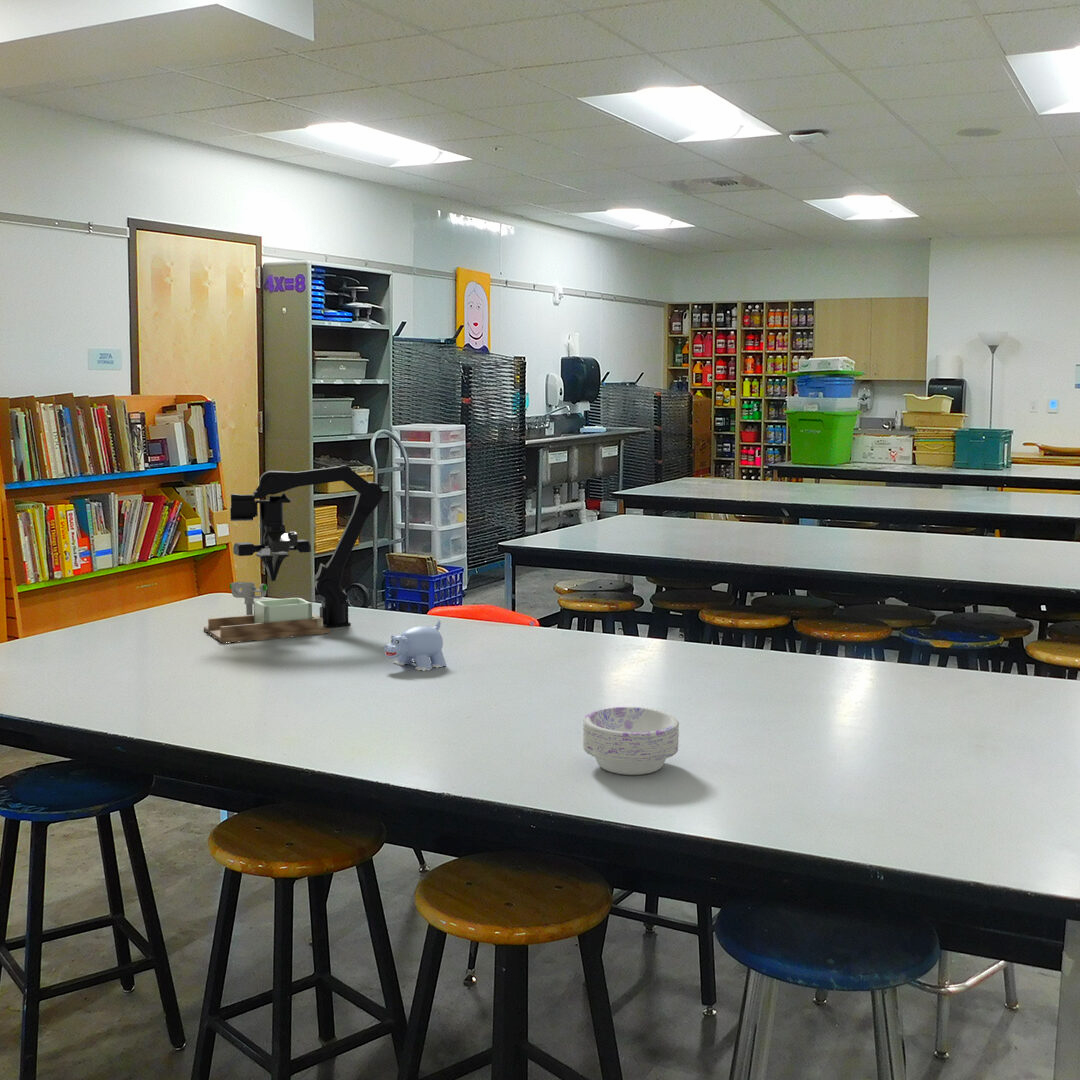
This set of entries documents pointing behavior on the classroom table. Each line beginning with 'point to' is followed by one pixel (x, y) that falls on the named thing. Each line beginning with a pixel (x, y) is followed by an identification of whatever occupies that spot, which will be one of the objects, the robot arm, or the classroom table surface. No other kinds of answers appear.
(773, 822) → the classroom table surface
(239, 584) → the mechanical component
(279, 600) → the sage green bevelled box
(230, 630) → the wooden serving tray
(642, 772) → the paper bowls
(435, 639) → the hippopotamus toy
